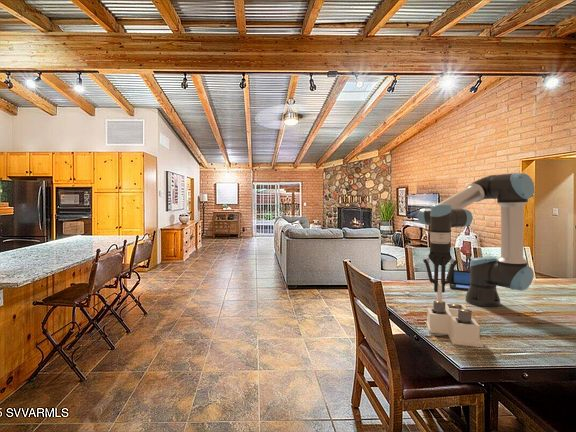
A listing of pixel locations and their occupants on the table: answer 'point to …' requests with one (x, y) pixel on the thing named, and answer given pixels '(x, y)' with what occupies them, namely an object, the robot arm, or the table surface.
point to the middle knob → (438, 307)
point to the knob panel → (454, 327)
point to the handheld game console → (460, 280)
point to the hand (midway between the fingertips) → (439, 299)
